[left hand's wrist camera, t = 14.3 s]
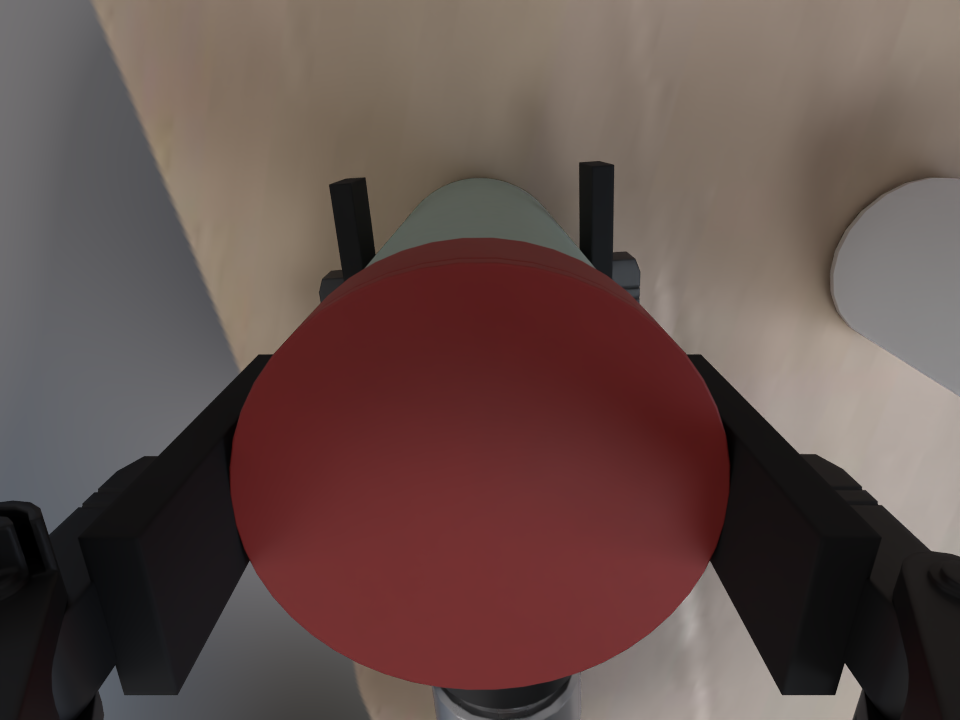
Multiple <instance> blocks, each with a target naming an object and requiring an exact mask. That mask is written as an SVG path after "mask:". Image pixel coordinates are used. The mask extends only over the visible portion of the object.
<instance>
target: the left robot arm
mask: <svg viewBox="0 0 960 720" xmlns="http://www.w3.org/2000/svg"><path fill="white" fill-rule="evenodd" d="M687 356H688V358H689V359H690V360H691V362H692V363H693V365H694V366H695V368H696V369H697V370H698V372H699V373H700V375H701V376H702V378H703V379H704V381H705V383H706V385H707V387H708V389H709V391H710V393H711V395H712V397H713V399H714V401H715V403H716V405H717V408H718V411H719V414H720V417H721V421H722V424H723V427H724V430H725V434H726V439H727V446H728V453H729V460H730V492H729V498H728V503H727V509H726V515H725V520H724V525H723V528H722V531H721V534H720V538H719V541H718V544H717V547H716V549H715V551H714V553H713V555H712V557H711V559H710V561H711V563H712V565H713V567H714V569H715V571H716V573H717V574H718V576H719V578H720V580H721V582H722V584H723V586H724V588H725V589H726V591H727V593H728V595H729V597H730V599H731V601H732V602H733V604H734V606H735V608H736V610H737V612H738V614H739V616H740V617H741V619H742V621H743V623H744V625H745V627H746V629H747V630H748V632H749V634H750V636H751V638H752V640H753V642H754V644H755V645H756V647H757V649H758V651H759V653H760V655H761V657H762V658H763V660H764V662H765V664H766V666H767V668H768V670H769V672H770V673H771V675H772V677H773V679H774V681H775V683H776V685H777V686H778V688H779V690H780V692H781V694H782V695H835V694H836V691H837V687H838V684H839V680H840V677H841V674H842V670H843V667H844V664H846V665H847V667H848V668H849V670H850V671H851V672H852V674H853V675H854V677H855V678H856V680H857V681H858V683H859V684H860V686H861V687H862V692H861V695H860V698H859V701H858V704H857V707H856V710H855V714H854V717H853V720H960V557H959V556H956V555H953V554H948V553H941V552H934V551H930V550H929V549H928V548H927V547H926V546H925V545H924V544H923V543H922V542H921V541H920V540H919V539H917V538H916V537H915V536H914V535H913V534H912V533H911V532H910V531H909V530H908V529H907V528H906V527H905V526H904V525H902V524H901V523H900V522H899V521H898V520H897V519H896V518H895V517H894V516H893V515H892V514H891V513H890V512H888V511H887V510H886V509H885V508H884V507H883V506H882V505H878V501H877V500H876V499H875V498H873V497H872V496H871V495H870V494H869V493H868V492H867V491H866V490H862V486H861V485H859V484H858V483H857V482H856V481H855V480H854V479H853V478H852V477H851V476H850V475H849V474H848V473H847V472H845V471H844V470H843V469H842V468H840V467H838V466H836V465H834V464H833V463H831V462H829V461H827V460H825V459H823V458H822V457H820V456H818V455H816V454H799V453H798V452H797V451H796V450H795V449H794V448H793V447H792V446H791V445H790V444H789V443H788V442H787V441H786V440H785V439H784V438H783V437H782V436H781V435H780V434H779V433H778V432H777V431H776V430H775V429H774V428H773V427H772V426H771V425H770V424H769V423H768V422H767V421H766V420H765V419H764V418H763V417H762V416H761V415H760V414H759V413H758V412H757V411H756V410H755V409H754V408H753V407H752V406H751V405H750V404H749V403H748V402H747V401H746V400H745V399H744V398H743V397H742V396H741V395H740V394H739V393H738V392H737V391H736V390H735V389H734V388H733V387H732V386H731V385H730V383H729V382H728V381H727V380H726V379H725V378H724V377H723V376H722V375H721V374H720V373H719V372H718V371H717V370H716V369H715V368H714V367H713V366H712V365H711V364H710V363H709V362H708V361H707V360H706V359H705V358H704V357H703V356H702V355H687ZM271 357H272V355H258V356H257V357H256V358H255V359H254V360H253V361H252V362H251V363H250V364H249V365H248V366H247V367H246V368H245V369H244V370H243V371H242V372H241V373H240V374H239V375H238V376H237V377H236V378H235V379H234V380H233V381H232V382H231V383H230V384H229V385H228V386H227V387H226V388H225V389H224V390H223V391H222V392H221V393H220V394H219V395H218V396H217V397H216V398H215V399H214V400H213V401H212V402H211V403H210V404H209V405H208V406H207V407H206V408H205V409H204V410H203V411H202V412H201V413H200V414H199V415H198V416H197V417H196V418H195V419H194V420H193V422H192V423H191V424H190V425H189V426H188V427H187V428H186V429H185V430H184V431H183V432H182V433H181V434H180V435H179V436H178V437H177V438H176V439H175V440H174V441H173V442H172V443H171V444H170V445H169V446H168V447H167V448H166V449H165V450H164V451H163V452H162V453H161V454H160V455H159V456H144V457H142V458H140V459H138V460H137V461H135V462H133V463H131V464H129V465H128V466H126V467H124V468H122V469H120V470H118V471H117V472H116V473H115V474H114V475H113V476H111V477H110V478H109V479H108V480H107V481H106V482H105V483H104V484H103V485H102V486H101V487H100V488H99V489H98V492H95V493H93V494H92V495H91V496H90V497H89V498H88V499H87V500H86V501H85V502H84V503H83V506H82V507H79V508H77V509H76V510H75V511H74V512H73V513H72V514H71V515H70V516H69V517H68V518H67V519H66V520H65V521H63V522H62V523H61V524H60V525H59V526H58V527H57V528H56V529H55V530H54V531H53V532H52V533H51V534H50V535H49V534H48V531H47V528H46V525H45V522H44V519H43V516H42V512H41V509H40V508H39V507H37V506H36V505H34V504H32V503H30V502H21V501H6V502H0V720H103V718H104V712H103V706H102V701H101V698H100V695H99V692H98V690H99V688H100V687H101V685H102V684H103V682H104V681H105V679H106V678H107V676H108V675H109V674H110V672H111V671H112V669H113V668H114V666H115V665H116V668H117V672H118V675H119V679H120V682H121V685H122V689H123V692H124V695H178V693H179V691H180V689H181V688H182V686H183V684H184V682H185V680H186V678H187V676H188V674H189V673H190V671H191V669H192V667H193V665H194V663H195V661H196V660H197V658H198V656H199V654H200V652H201V650H202V648H203V647H204V645H205V643H206V641H207V639H208V637H209V635H210V633H211V632H212V630H213V628H214V626H215V624H216V622H217V620H218V619H219V617H220V615H221V613H222V611H223V609H224V607H225V605H226V604H227V602H228V600H229V598H230V596H231V594H232V592H233V591H234V589H235V587H236V585H237V583H238V581H239V579H240V577H241V576H242V574H243V572H244V570H245V568H246V566H247V564H248V563H249V561H250V559H249V557H248V556H247V554H246V552H245V550H244V547H243V544H242V541H241V538H240V535H239V532H238V530H237V527H236V522H235V517H234V511H233V505H232V500H231V494H230V471H229V466H230V458H231V450H232V442H233V437H234V433H235V430H236V426H237V423H238V419H239V416H240V412H241V409H242V407H243V405H244V403H245V401H246V399H247V397H248V394H249V392H250V390H251V388H252V386H253V384H254V382H255V380H256V379H257V377H258V376H259V374H260V373H261V371H262V370H263V368H264V367H265V365H266V364H267V363H268V361H269V360H270V358H271Z"/></svg>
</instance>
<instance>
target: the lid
mask: <svg viewBox="0 0 960 720" xmlns="http://www.w3.org/2000/svg"><path fill="white" fill-rule="evenodd" d="M229 471H230V494H231V500H232V505H233V511H234V517H235V522H236V527H237V530H238V532H239V535H240V538H241V541H242V544H243V547H244V550H245V552H246V554H247V556H248V557H249V559H250V561H251V563H252V565H253V567H254V569H255V571H256V573H257V575H258V576H259V578H260V579H261V580H262V582H263V583H264V585H265V586H266V588H267V589H268V590H269V592H270V593H271V595H272V596H273V597H274V599H275V600H276V601H277V602H278V603H279V604H280V605H281V606H282V607H283V608H284V610H285V611H286V612H287V613H288V614H289V615H290V616H291V617H292V618H293V619H294V620H295V621H297V622H298V623H299V624H300V625H301V626H302V627H303V628H305V629H306V630H307V631H308V632H309V633H310V634H311V635H313V636H314V637H316V638H317V639H319V640H320V641H322V642H323V643H325V644H326V645H328V646H329V647H330V648H332V649H333V650H335V651H337V652H339V653H340V654H342V655H344V656H346V657H348V658H350V659H352V660H353V661H355V662H357V663H359V664H362V665H364V666H366V667H369V668H371V669H374V670H376V671H379V672H381V673H384V674H387V675H390V676H393V677H397V678H400V679H404V680H407V681H410V682H415V683H420V684H425V685H431V686H436V687H443V688H454V689H465V690H496V689H506V688H516V687H524V686H529V685H534V684H539V683H544V682H549V681H553V680H556V679H560V678H563V677H566V676H570V675H573V674H576V673H579V672H581V671H584V670H586V669H588V668H591V667H593V666H596V665H598V664H600V663H603V662H605V661H607V660H608V659H610V658H612V657H614V656H616V655H617V654H619V653H621V652H623V651H625V650H626V649H628V648H630V647H631V646H632V645H634V644H635V643H637V642H638V641H640V640H641V639H642V638H644V637H645V636H647V635H648V634H650V633H651V632H652V631H653V630H654V629H655V628H656V627H658V626H659V625H660V624H661V623H662V622H663V621H664V620H665V619H667V618H668V617H669V616H670V615H671V614H672V613H673V612H674V611H675V609H676V608H677V607H678V606H679V605H680V604H681V603H682V601H683V600H684V599H685V598H686V597H687V596H688V595H689V593H690V592H691V590H692V589H693V587H694V586H695V584H696V583H697V581H698V580H699V579H700V577H701V576H702V574H703V573H704V571H705V569H706V567H707V565H708V563H709V561H710V559H711V557H712V555H713V553H714V551H715V549H716V547H717V544H718V541H719V538H720V534H721V531H722V528H723V525H724V520H725V515H726V509H727V503H728V498H729V492H730V460H729V453H728V446H727V439H726V434H725V430H724V427H723V424H722V421H721V417H720V414H719V411H718V408H717V405H716V403H715V401H714V399H713V397H712V395H711V393H710V391H709V389H708V387H707V385H706V383H705V381H704V379H703V378H702V376H701V375H700V373H699V372H698V370H697V369H696V368H695V366H694V365H693V363H692V362H691V360H690V359H689V358H688V356H687V355H686V353H685V352H684V351H683V350H682V349H681V348H680V347H679V346H678V345H677V343H676V342H675V341H674V340H673V339H672V338H671V337H670V336H669V335H668V334H667V333H666V332H665V331H664V329H663V328H662V327H661V326H660V325H659V324H658V323H657V322H656V321H655V320H654V319H653V318H652V317H651V315H650V314H649V313H648V312H647V311H646V310H645V309H644V308H643V307H642V306H641V305H640V304H639V303H638V302H637V301H636V300H635V299H634V298H633V296H632V295H631V294H630V293H628V292H627V291H626V290H625V289H623V288H622V287H621V286H620V285H618V284H617V283H616V282H615V281H613V280H612V279H611V278H609V277H608V276H607V275H605V274H603V273H602V272H600V271H598V270H597V269H595V268H593V267H591V266H590V265H588V264H586V263H585V262H583V261H581V260H579V259H576V258H574V257H571V256H569V255H566V254H564V253H562V252H559V251H557V250H554V249H551V248H547V247H543V246H539V245H536V244H532V243H528V242H524V241H516V240H508V239H500V238H458V239H451V240H444V241H437V242H431V243H427V244H424V245H420V246H417V247H413V248H409V249H406V250H402V251H400V252H398V253H395V254H393V255H391V256H388V257H386V258H384V259H382V260H379V261H377V262H375V263H373V264H371V265H370V266H368V267H366V268H365V269H363V270H362V271H360V272H358V273H357V274H355V275H353V276H352V277H350V278H349V279H347V280H346V281H345V282H344V283H343V284H341V285H340V286H339V287H338V288H336V289H335V290H334V291H333V292H332V293H330V294H329V295H328V296H327V297H326V298H325V299H324V300H323V301H322V302H321V303H320V304H319V306H318V307H317V308H316V309H315V310H314V311H313V312H312V313H311V314H310V315H309V316H308V317H307V318H306V320H305V321H304V322H303V323H302V324H301V325H300V326H299V327H298V328H297V329H296V330H295V331H294V332H293V334H292V335H291V336H290V337H289V338H288V339H287V340H286V341H285V342H284V343H283V344H282V346H281V347H280V348H279V349H278V350H277V351H276V352H275V353H274V354H273V355H272V357H271V358H270V360H269V361H268V363H267V364H266V365H265V367H264V368H263V370H262V371H261V373H260V374H259V376H258V377H257V379H256V380H255V382H254V384H253V386H252V388H251V390H250V392H249V394H248V397H247V399H246V401H245V403H244V405H243V407H242V409H241V412H240V416H239V419H238V423H237V426H236V430H235V433H234V437H233V442H232V450H231V458H230V466H229Z"/></svg>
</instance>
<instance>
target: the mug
mask: <svg viewBox="0 0 960 720" xmlns="http://www.w3.org/2000/svg"><path fill="white" fill-rule="evenodd" d="M830 286H831V296H832V299H833V301H834V304H835V307H836V310H837V312H838V313H839V315H840V316H841V317H842V319H843V320H844V321H845V323H846V324H847V325H848V326H849V327H850V328H852V329H853V330H855V331H856V332H858V333H859V334H861V335H862V336H864V337H866V338H867V339H869V340H870V341H872V342H874V343H875V344H877V345H878V346H880V347H882V348H883V349H885V350H886V351H888V352H889V353H891V354H893V355H894V356H896V357H897V358H899V359H901V360H902V361H904V362H905V363H907V364H909V365H910V366H912V367H913V368H915V369H916V370H918V371H920V372H921V373H923V374H924V375H926V376H928V377H929V378H931V379H932V380H934V381H936V382H937V383H939V384H940V385H942V386H944V387H945V388H947V389H948V390H950V391H951V392H953V393H955V394H956V395H958V396H959V397H960V179H959V178H930V177H929V178H924V179H920V180H916V181H912V182H907V183H904V184H902V185H900V186H898V187H896V188H894V189H892V190H890V191H888V192H886V193H884V194H882V195H881V196H880V197H878V198H877V199H876V200H875V201H873V202H872V203H871V204H870V205H868V206H867V207H866V208H865V209H863V210H862V211H861V212H860V213H859V214H858V216H857V217H856V218H855V219H854V220H853V222H852V223H851V224H850V225H849V227H848V228H847V229H846V230H845V232H844V234H843V236H842V238H841V240H840V242H839V244H838V246H837V248H836V250H835V253H834V257H833V261H832V265H831V270H830Z"/></svg>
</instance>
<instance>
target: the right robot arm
mask: <svg viewBox="0 0 960 720" xmlns="http://www.w3.org/2000/svg"><path fill="white" fill-rule="evenodd" d="M329 187H330V194H331V200H332V207H333V213H334V220H335V226H336V233H337V240H338V246H339V253H340V259H341V266H342V270H335V271H330V272H329V273H328V274H327V275H326V276H325V277H324V278H323V279H322V282H321V287H320V291H319V295H320V301H321V302H322V301H323V300H324V299H325V298H326V297H327V296H328V295H329V294H330V293H332V292H333V291H334V290H335V289H336V288H338V287H339V286H340V285H341V284H343V283H344V282H345V281H346V280H347V279H349V278H350V277H352V276H353V275H355V274H357V273H358V272H360V271H362V270H363V269H364V268H365V267H366V266H367V265H368V264H369V263H370V261H371V260H372V259H373V258H374V257H375V247H374V240H373V232H372V224H371V217H370V209H369V201H368V194H367V186H366V178H365V177H364V178H350V179H344V180H341V181H338V182H335V183H332V184H330V185H329ZM613 207H614V165H612V164H608V163H604V162H600V161H594V162H580V163H579V208H580V251H581V252H582V253H583V254H584V255H585V257H586V258H587V259H588V260H589V261H590V263H591V264H592V265H593V266H594V267H595V268H596V269H597V270H598V271H600V272H602V273H603V274H605V275H607V276H608V277H609V278H611V279H612V280H613V281H615V282H616V283H617V284H618V285H620V286H621V287H622V288H623V289H625V290H626V291H627V292H628V293H630V294H631V295H632V296H633V298H634V299H635V300H636V301H637V302H638V303H639V296H640V288H639V286H640V270H639V267H638V265H637V262H636V260H635V258H634V257H632V256H631V255H630V254H629V253H628V252H613ZM432 690H433V697H434V704H435V711H436V718H437V720H580V716H581V672H579V673H576V674H573V675H570V676H566V677H563V678H560V679H556V680H553V681H549V682H544V683H539V684H534V685H529V686H524V687H516V688H506V689H496V690H465V689H454V688H443V687H436V686H432Z"/></svg>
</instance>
